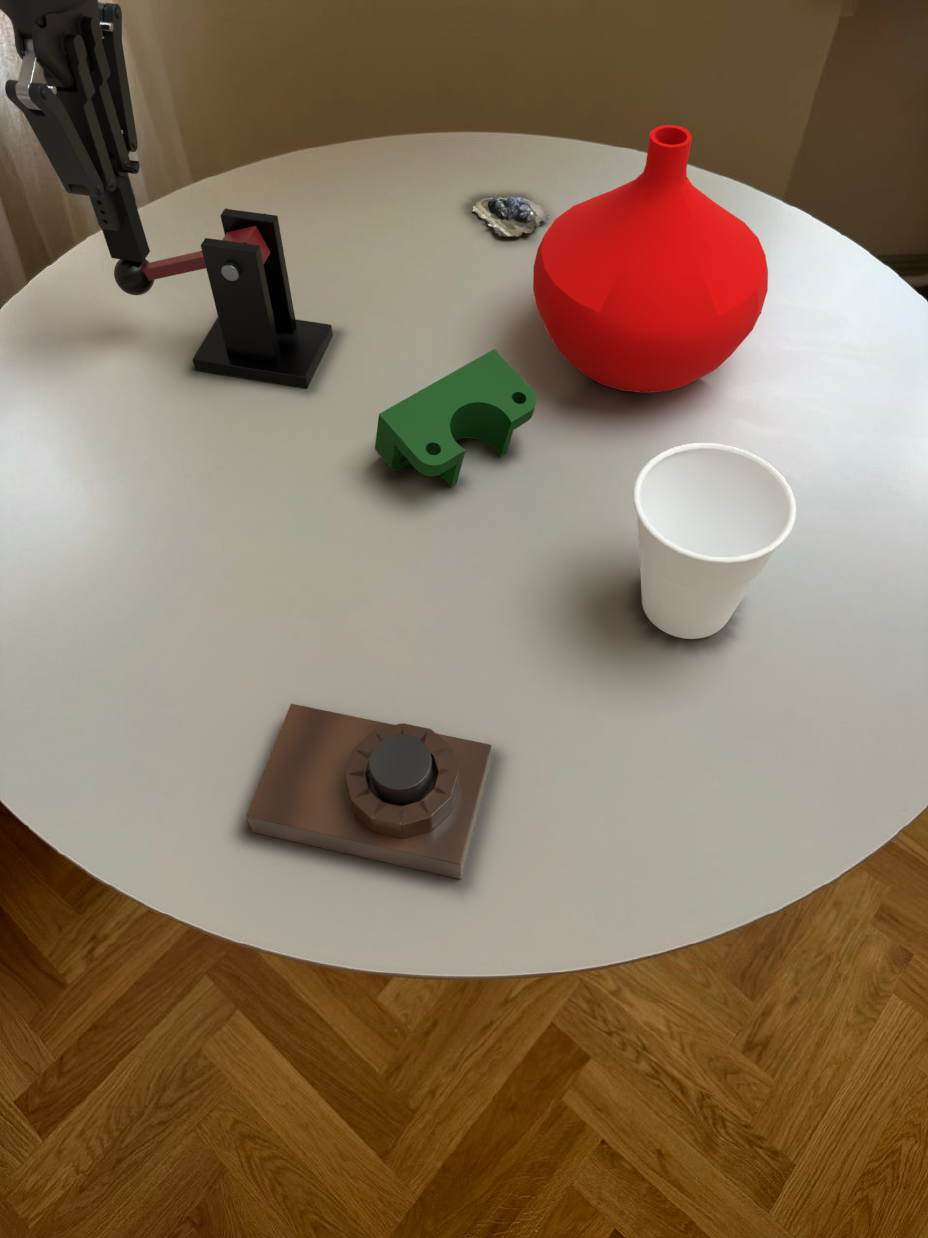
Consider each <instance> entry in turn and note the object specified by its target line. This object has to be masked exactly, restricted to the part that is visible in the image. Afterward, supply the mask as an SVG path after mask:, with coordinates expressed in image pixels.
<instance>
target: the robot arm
mask: <svg viewBox="0 0 928 1238" xmlns="http://www.w3.org/2000/svg"><path fill="white" fill-rule="evenodd" d="M0 11H1V12H2V13H3V14H4V15H5V16H7V17H8V19H9V20H10V21H11V25H12V30H13V36H14V38H13V39H14V46H15V51H16V53H17V55H18V57H19V58H20V59H21V60H22V62H21V67H20V71H19V76H18V80H17V79H7V80H6V82H5V84H4V91H5V96H6V97H7V99H8V100H9V101H11V103H12V104H14V105H15V107H16V108H18V109H19V110H20V111H21V112H22V114H23V115H24V117H25V118H26V121H27V122H28V124H29V126H30V128H31V130H32V131H33V134H34V135H35V137H36V139H37V140H38V143H39V144H40V146H41V148H42V150H43V151H44V153H45V155H46V157H47V159H48V160H49V162H50V164H51V166H52V168H53V169H54V171H55V173H56V175H57V177H58V179H59V181H60V183H61V184H62V186H63V188H64V189H65V192H67V193H68V194H72V195H77V196H78V195H79V196H86V197H89V200H90V203H91V205H92V209H93V212H94V216H95V218H96V221H97V224H98V226H99V227H100V229H101V231H102V234H103V237H104V240H105V244H106V246H107V249H108V252H109V255H110V258H111V259H114V260H120V259H121V260H128V261H135V262H142V263H143V261H144V260H145V259H146V258H147V257H148V255H149V254H150V252H151V249H150V247H149V244H148V240H147V237H146V233H145V230H144V226H143V224H142V220H141V216H140V213H139V209H138V206H137V201H136V196H135V193H134V189H133V187H132V183H131V180H130V176H129V174H131V175H133V174H134V175H137V174H138V173H139V172H140V169H141V167H140V165H141V164H140V161H139V160H134V159H133V160H132V159H130V156H129V155H130V153H136V152H137V151H138V147H139V146H138V145H139V143H138V135H137V129H136V122H135V117H134V116H135V115H134V110H133V104H132V97H131V90H130V84H129V78H128V71H127V64H126V57H125V52H124V45H123V11H122V8H121V6H120V4H119V3H114V2H113V3H111V2H103V1H99V0H0Z"/></svg>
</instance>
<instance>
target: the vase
mask: <svg viewBox="0 0 928 1238" xmlns="http://www.w3.org/2000/svg"><path fill="white" fill-rule="evenodd" d="M692 140H693V136H692V133H691V132H690V131H689V130H688V129H687V128H685V127H682V126H679V125H672V124H666V125H665V124H664V125H660V126H657V127H655V128H653V129H652V130H651V131H650V132H649V139H648V146H647V153H646V159H645V165H644V168H643V172H641V174H639V175H638V176H637V177H636V178H635V179H633V180H631V181H629V182H627V183H624V184H622V185H620V186H617V187H616V188H613V189H612V190H609V191H607V192H604V193H601V194H599V195H596V196H593V197H591V198H589V199H586V200H584V201H582V202H579V203H577V204H575V205H572V206H571V207H569V208H568V209H567V210H565V211H564V212H563V213H562V214H560V215H559V216H558V217H556V218H555V219H554V221H553V222H552V223H551V225H550V226H549V228H548V229H547V230H546V232H545V233H544V235H543V237H542V239H541V240H540V243H539V245H538V247H537V251H536V254H535V259H534V262H533V274H532V279H533V280H532V289H533V296H534V301H535V306H536V309H537V311H538V314H539V316H540V318H541V320H542V323H543V325H544V328H545V329H546V332H547V334H548V337H549V338H550V339H551V341H552V343H553V344H554V346H555V347H556V349H557V351H558V352H559V353H560V354H561V355H562V356H563V357H564V358H565V359H566V360H567V361H569V363H570V364H571V365H573V367H575V368H576V369H577V370H578V371H579V372H581V374H583V376H586V377H587V378H589V379H591V380H593V381H595V382H597V383H599V384H601V385H603V386H607V387H610V388H613V389H617V390H620V391H626V392H632V393H633V392H634V393H643V394H644V393H645V394H646V393H660V392H667V391H670V390H675V389H678V388H679V389H680V388H683V387H685V386H687V385H689V384H690V383H693V382H695V381H697V380H699V379H701V378H702V377H704V376H707V375H709V373H712V372H713V371H716V370H717V369H718V368H719V367H720V366H721V365H722V364H723V363H725V361H727V360H728V359H729V358H730V357H731V356H732V355H733V354H734V353H735V351H736V350H737V349H738V348H739V347H740V345H741V344H742V343H743V342H744V341H745V340H746V339H747V337H748V336H749V335H750V334H751V333H752V332H753V330H754V328H755V326H756V324H757V322H758V321H759V318H760V315H761V314H762V311H763V307H764V304H765V300H766V297H767V295H768V291H769V290H768V289H769V268H768V263H767V255H766V253H765V250H764V248H763V245H762V243H761V241H760V239H759V237H758V235H756V234H755V233H754V231H753V230H752V229H751V228H750V226H748V224H747V223H746V222H745V221H743V220H742V219H740V218H739V217H737V216H736V215H735V214H733V213H731V212H730V211H729V210H727V209H726V208H725V207H722V206H721V205H720V204H719V203H716V202H715V201H714V200H712V199H711V198H710V197H709V196H707V195H706V194H705V193H704V192H702V191H701V190H699V189H698V188H697V187H696V186H694V185H693V184H692V182H691V180H690V179H689V178H688V172H687V171H688V169H687V168H688V163H689V157H690V151H691V145H692Z"/></svg>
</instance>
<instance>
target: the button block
mask: <svg viewBox="0 0 928 1238" xmlns="http://www.w3.org/2000/svg"><path fill="white" fill-rule="evenodd" d="M400 734H404V735H410V736H413V737H416V738H418V739H419V740H421V741H422V742H423V743H424V744H425V745H426V746H427V747H428V749H429V751H430V753H431V757H432V770H433V778H432V782H431V785H430V787H429V789H428V790H427V791H426V792H425V793H424V794H423V795H422V796H421V797H419V798H418V799H416V800H414V801H411V802H407V803H395V802H391V801H388V800H386V799H384V798H383V797H381V796H380V795H379V794H378V793H377V792H376V790H375V789H374V787H373V784H372V780H371V774H370V768H369V759H370V755H371V753H372V751H373V749H374V748H375V746H376V745H377V744H378V743H379V742H381V741H382V740H384V739H385V738H387V737H390V736H393V735H400ZM491 764H492V744H489V743H486V742H485V743H484V742H479V741H476V740H470V739H466V738H461V737H455V736H451V735H446V734H441V733H436V732H435V731H434V730H432V729H431V728H428V727H423V726H418V725H414V724H408V723H401V722H400V723H398V724H393V723H387V722H382V721H378V720H373V719H368V718H364V717H358V716H354V715H348V714H344V713H339V712H334V711H330V710H329V711H328V710H324V709H320V708H315V707H309V706H305V705H299V704H295V703H290V705H289V707H288V710H287V712H286V715H285V717H284V720H283V723H282V725H281V728H280V731H279V732H278V735H277V738H276V740H275V743H274V745H273V748H272V750H271V753H270V755H269V758H268V761H267V763H266V766H265V768H264V769H263V774H262V776H261V778H260V780H259V783H258V785H257V788H256V791H255V793H254V795H253V799H252V800H251V803H250V806H249V809H248V811H247V814H246V819H247V821H248V824H249V827H250V829H251V832H252V833H255V834H259V835H265V836H268V837H272V838H273V837H274V838H277V839H281V840H286V841H291V842H295V843H298V844H303V845H308V846H312V847H316V848H321V849H325V850H330V851H335V852H339V853H343V854H346V855H347V854H348V855H352V856H356V857H360V858H366V859H370V860H375V861H379V862H383V863H387V864H392V865H396V866H401V867H404V868H405V867H406V868H410V869H414V870H419V871H421V872H427V873H431V874H436V875H440V876H445V877H449V878H454V879H458V880H462V878H463V875H464V870H465V866H466V862H467V859H468V856H469V855H468V854H469V851H470V846H471V843H472V839H473V835H474V832H475V827H476V823H477V820H478V815H479V812H480V807H481V804H482V801H483V795H484V792H485V788H486V785H487V780H488V777H489V773H490V768H491Z"/></svg>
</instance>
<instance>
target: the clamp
mask: <svg viewBox="0 0 928 1238" xmlns="http://www.w3.org/2000/svg"><path fill="white" fill-rule="evenodd" d="M537 404H538V396H537V394H536V392H535V390H534V389H533V388H532V387H531V386H530V385H529V384H528V383H527V382H526V381H525V379H524V378H522V376H520V374H519V373H518V372H517V371H516V370H515V369H514V368H513V367H512V366H511V365H510V363H508V361H506V359H505V358H504V357H503V356H502V355H501V354H500V353H499V352H498V351H497V350H496V348H493V349H491V350H490V351H488V352H486V353H484V354H482V355H481V356H479V357H477V358H475V359H473V360H472V361H470V362H468V363H466V364H464V365H463V366H462V367H459V368H458V369H456V370H454V371H452V372H451V373H449V374H447V375H445V376H443V377H442V378H440V379H438V380H436V381H435V382H433V383H431V384H429V385H427V386H426V387H424V388H422V389H420V390H418V391H417V392H415V393H413V394H412V395H410V396H408V397H406V398H404V399H403V400H401V401H399V402H398V403H396V404H394V405H392V406H391V407H388V408H387V409H385V410H383V411H382V412H379V414H378V417H377V428H376V434H375V442H374V449H375V451H376V452H377V453H378V455H379V456H380V457H381V458H382V460H384V462H385V463H386V464H387V465H388V467H390V469H391V470H393V471H399V470H402V469H404V468H405V467H407V466H409V465H412V466H413V467H414V469H415V470H416V471H417V472H419V474H422V475H424V476H427V477H436V476H440V477H441V478H442V479H443V480H444V481H445V482H446V484H447V485H448V486H449V488H453V487H454V486H456V485H458V481H459V477H460V473H461V469H462V465H463V461H464V457H465V455H466V449H465V448H463V447H462V446H461V445H460V444H458V442H457V441H458V440H462V439H478V440H480V441H483V442H485V443H487V444H489V445H490V446H491V447H492V448H493V449H494V450H495V451H496V453H498V455H499V457H500V458H502V457H503V456H505V455H507V451H508V449H509V445H510V442H511V440H512V439H511V438H512V436H513V433H514V430H516V429H518V428H519V427H521V426H522V425H524V424H526V423H528V422H529V421H530V420H531V419H532V417H533V416H534V412H535V409H536V406H537Z"/></svg>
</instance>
